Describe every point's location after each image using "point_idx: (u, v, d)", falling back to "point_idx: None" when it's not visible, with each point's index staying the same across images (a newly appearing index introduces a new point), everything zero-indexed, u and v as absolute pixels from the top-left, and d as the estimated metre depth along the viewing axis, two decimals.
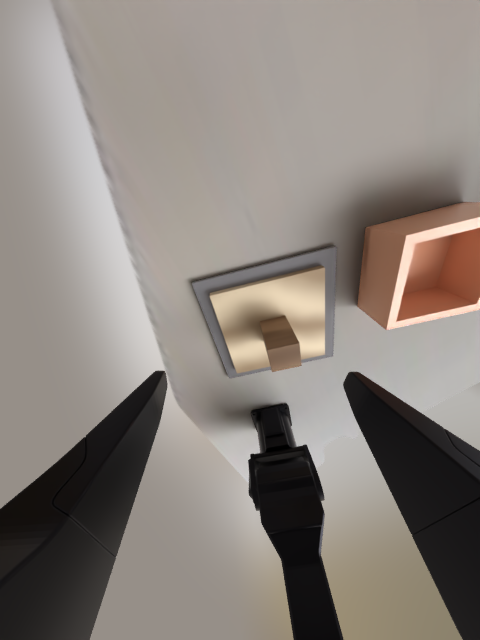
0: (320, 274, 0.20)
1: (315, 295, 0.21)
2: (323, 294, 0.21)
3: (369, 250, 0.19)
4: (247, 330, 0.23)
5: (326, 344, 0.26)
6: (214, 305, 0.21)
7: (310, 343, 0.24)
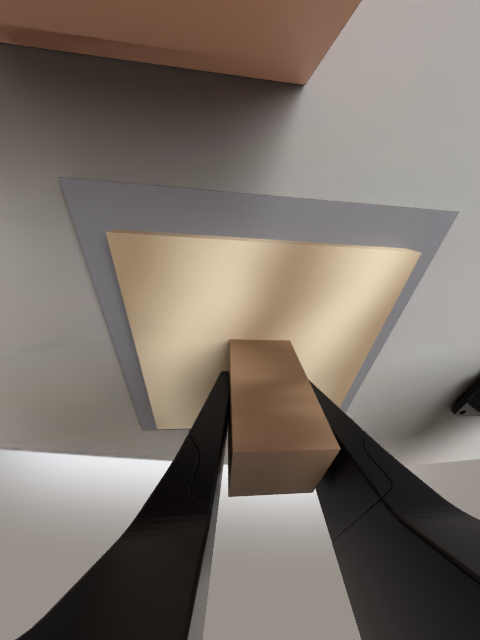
0: (127, 246, 0.07)
1: (191, 265, 0.07)
2: (193, 242, 0.07)
3: (38, 24, 0.05)
4: None
5: (389, 234, 0.08)
6: (175, 427, 0.13)
7: (347, 292, 0.08)
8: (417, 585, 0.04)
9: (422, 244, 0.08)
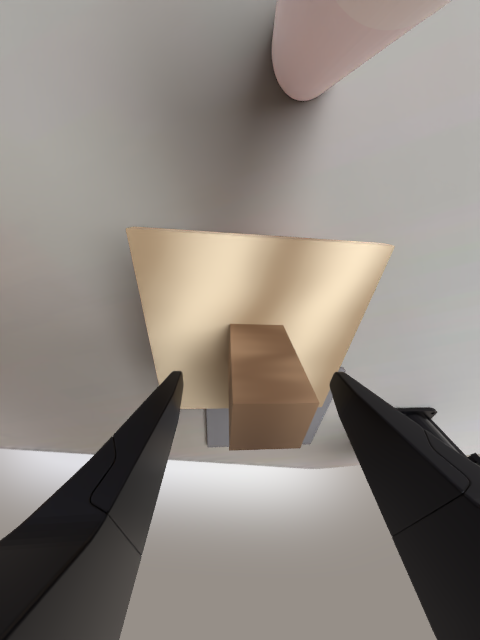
0: (143, 241, 0.08)
1: (197, 257, 0.09)
2: (199, 237, 0.08)
3: None
4: None
5: None
6: (180, 407, 0.14)
7: (331, 281, 0.10)
8: None
9: None
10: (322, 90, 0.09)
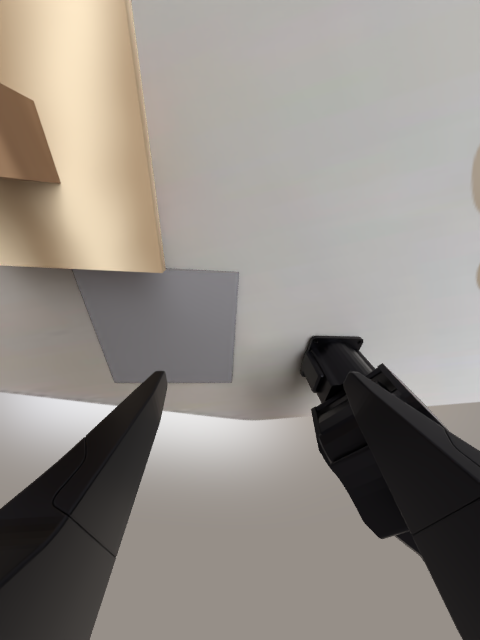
0: None
1: None
2: None
3: None
4: (31, 215, 0.11)
5: (212, 282, 0.19)
6: None
7: (58, 5, 0.07)
8: None
9: (229, 286, 0.19)
10: None
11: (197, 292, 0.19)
